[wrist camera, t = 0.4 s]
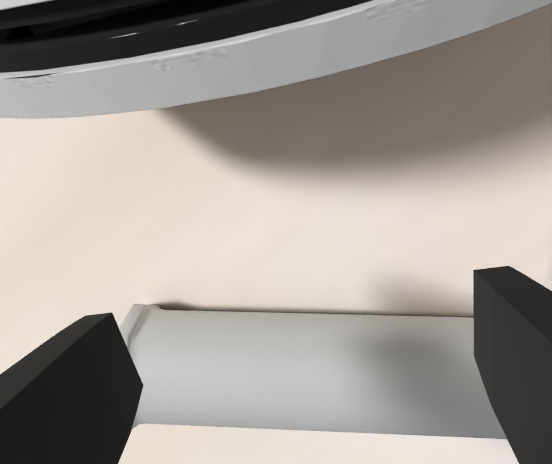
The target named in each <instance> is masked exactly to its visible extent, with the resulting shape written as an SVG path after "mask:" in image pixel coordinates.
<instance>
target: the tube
mask: <svg viewBox="0 0 552 464" xmlns="http://www.w3.org/2000/svg"><path fill="white" fill-rule="evenodd" d="M119 330H120V332H121V334H122V337H123V339H124V341H125V344H126V346H127V348H128V351H129V353H130V355H131V358H132V360H133V362H134V364H135V367H136V369H137V371H138V374H139V376H140V378H141V381H142V383H143V389H142V393H141V397H140V401H139V405H138V409H137V413H136V416H135V419H134V423H133V426H132V429H133V428H134V427H136V426H137V425H139V424H144V423H146V424H170V425H193V426H216V427H239V428H263V429H286V430H309V431H333V432H356V433H379V434H403V435H426V436H449V437H473V438H496V439H507V437H506V435H505V433H504V431H503V429H502V427H501V425H500V423H499V421H498V419H497V417H496V415H495V413H494V411H493V409H492V406H491V404H490V401H489V398H488V395H487V393H486V390H485V387H484V384H483V381H482V379H481V376H480V373H479V370H478V367H477V364H476V361H475V358H474V317H434V316H392V315H351V314H309V313H268V312H226V311H184V310H164V309H161V308H160V307H159V305H143V304H134V305H133V306H132V308H131V309H130V311H129V313H128V314H127V316H126V318H125V319H124V321H123V323H122V324H121V326H120V328H119Z"/></svg>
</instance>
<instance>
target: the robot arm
mask: <svg viewBox="0 0 552 464" xmlns="http://www.w3.org/2000/svg"><path fill="white" fill-rule="evenodd" d="M474 358H475V361H476V364H477V367H478V370H479V373H480V376H481V379H482V381H483V384H484V387H485V390H486V393H487V395H488V398H489V401H490V404H491V406H492V409H493V411H494V413H495V415H496V417H497V419H498V421H499V423H500V425H501V427H502V429H503V431H504V433H505V435H506V437H507V440H508V442H509V444H510V446H511V448H512V450H513V452H514V454H515V456H516V458H517V460H518V462H519V464H552V291H551V290H549V289H547V288H546V287H544V286H542V285H541V284H539V283H537V282H536V281H534V280H533V279H531V278H529V277H528V276H526V275H524V274H522V273H521V272H519V271H517V270H515V269H514V268H512V267H510V266H504V267H496V268H487V269H479V270H474ZM142 389H143V383H142V381H141V378H140V376H139V374H138V371H137V369H136V367H135V364H134V362H133V360H132V358H131V355H130V353H129V351H128V348H127V346H126V344H125V341H124V339H123V337H122V334H121V332H120V330H119V328H118V325H117V323H116V321H115V318H114V316H113V314H112V313H105V314H96V315H88V316H84V317H83V318H81V319H79V320H77V321H76V322H74V323H73V324H71V325H69V326H68V327H66V328H65V329H63V330H62V331H60V332H59V333H57V334H56V335H55V336H53V337H52V338H50V339H49V340H47V341H46V342H45V343H43V344H42V345H40V346H39V347H38V348H36V349H35V350H33V351H32V352H31V353H29V354H28V355H27V356H25V357H24V358H22V359H21V360H20V361H18V362H17V363H15V364H14V365H13V366H11V367H10V368H9V369H7V370H6V371H4V372H3V373H2V374H0V464H118V462H119V460H120V457H121V455H122V453H123V450H124V448H125V445H126V443H127V440H128V438H129V435H130V433H131V430H132V426H133V423H134V419H135V416H136V413H137V409H138V405H139V401H140V397H141V393H142Z"/></svg>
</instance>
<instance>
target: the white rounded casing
mask: <svg viewBox="0 0 552 464" xmlns="http://www.w3.org/2000/svg"><path fill="white" fill-rule="evenodd" d="M549 4H552V0H0V118H31V119H36V118H65V117H83V116H93V115H103V114H114V113H123V112H132V111H141V110H150V109H159V108H167V107H173V106H178V105H184V104H190V103H195V102H201V101H207V100H212V99H218V98H224V97H229V96H235V95H240V94H246V93H252V92H257V91H262V90H266V89H271V88H275V87H280V86H284V85H288V84H293V83H297V82H302V81H306V80H310V79H315V78H319V77H323V76H328V75H331V74H335V73H338V72H342V71H346V70H349V69H353V68H356V67H360V66H364V65H367V64H371V63H374V62H378V61H382V60H385V59H389V58H392V57H396V56H400V55H403V54H407V53H410V52H414V51H418V50H421V49H425V48H428V47H431V46H434V45H437V44H440V43H443V42H446V41H449V40H452V39H456V38H459V37H462V36H465V35H468V34H471V33H474V32H477V31H480V30H483V29H486V28H488V27H491V26H494V25H497V24H499V23H502V22H505V21H507V20H510V19H513V18H515V17H518V16H521V15H523V14H526V13H529V12H532V11H534V10H537V9H539V8H542V7H544V6H547V5H549Z"/></svg>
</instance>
